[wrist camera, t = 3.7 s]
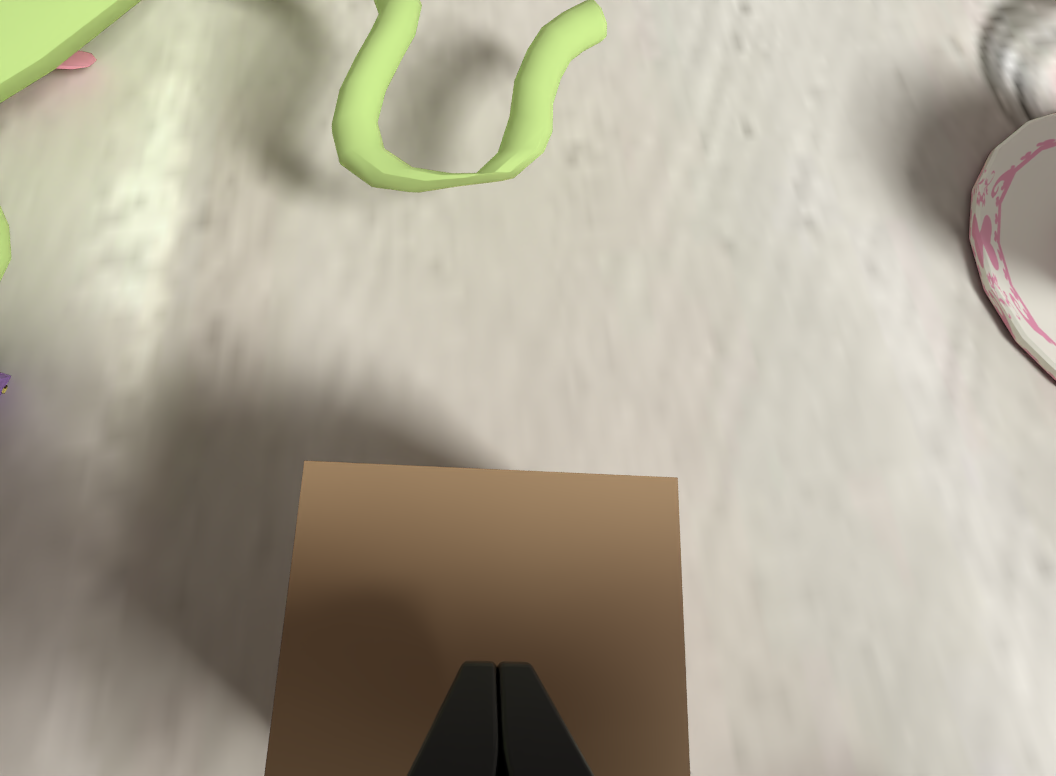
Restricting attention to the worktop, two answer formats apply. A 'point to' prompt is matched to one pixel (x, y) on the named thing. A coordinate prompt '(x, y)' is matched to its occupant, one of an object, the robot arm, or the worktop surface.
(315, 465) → the plain block
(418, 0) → the figurine
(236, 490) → the worktop surface
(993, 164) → the teacup
